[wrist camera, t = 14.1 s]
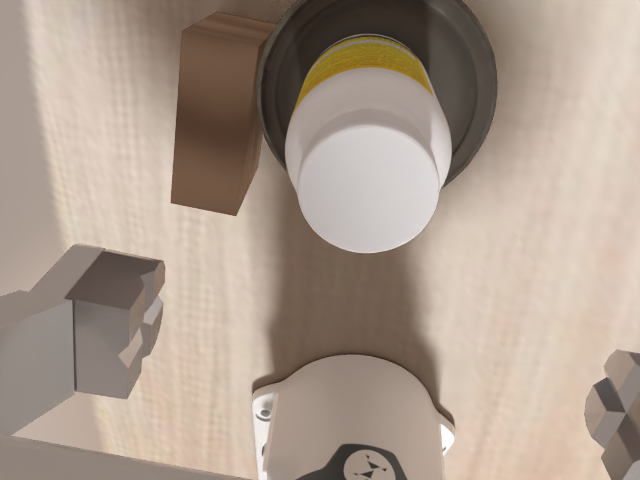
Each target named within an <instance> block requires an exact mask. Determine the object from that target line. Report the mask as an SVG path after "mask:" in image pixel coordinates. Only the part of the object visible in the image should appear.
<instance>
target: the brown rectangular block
mask: <svg viewBox="0 0 640 480" xmlns="http://www.w3.org/2000/svg"><path fill="white" fill-rule="evenodd" d="M276 25H277V24H272V23H267V22H263V21H258V20H253V19H249V18H244V17H239V16H234V15H230V14H225V13H220V12H216V13H214V14H212V15H210V16H209V17H207V18H205V19H203V20H201V21H200V22H198V23H196V24H194V25H192V26H190V27H189V28H187V29H185V30H183V31H182V41H181V56H180V71H179V86H178V101H177V116H176V131H175V145H174V160H173V175H172V190H171V203H173V204H178V205H183V206H188V207H193V208H198V209H203V210H208V211H213V212H218V213H223V214H228V215H233V216H236V215H237V213H238V211H239V209H240V206H241V204H242V202H243V200H244V197H245V195H246V193H247V191H248V188H249V186H250V184H251V182H252V179H253V177H254V175H255V173H256V170H257V168H258V162H259V155H260V148H261V141H262V135H263V131H262V127H261V124H260V120H259V115H258V109H257V99H256V88H257V75H258V70H259V65H260V61H261V58H262V55H263V52H264V49H265V47H266V44H267V42H268V39H269V38H270V36H271V34H272V32H273V30H274V29H275V27H276Z"/></svg>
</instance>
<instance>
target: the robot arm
mask: <svg viewBox="0 0 640 480" xmlns="http://www.w3.org/2000/svg"><path fill="white" fill-rule="evenodd" d="M164 283H165V264H164V262H163V261H161V260H157V259H152V258H147V257H142V256H138V255H133V254H128V253H124V252H119V251H114V250H110V249H105V248H101V247H95V246H90V245H84V244H75V245H73V246H72V247H71V248H70V249H69V250H68V251H67V252H66V253H65V254H64V255H63V256H62V257H61V258H60V260H59V261H58V262H57V263H56V264H55V265H54V266H53V267H52V268H51V269H50V270H49V271H48V272H47V273H46V274H45V275H44V276H43V277H42V279H41V280H40V281H39V282H38V283H37V284H36V285H35V286H34V287H33V288H32V289H31V290H30V291H29V292H26V291H21V290H19V291H16V292H13V293H10V294H7V295H4V296H1V297H0V480H252V479H246V478H241V477H235V476H230V475H224V474H219V473H213V472H207V471H202V470H196V469H191V468H185V467H180V466H174V465H169V464H163V463H158V462H152V461H146V460H141V459H135V458H130V457H124V456H119V455H113V454H108V453H103V452H97V451H91V450H87V449H81V448H76V447H70V446H65V445H59V444H53V443H48V442H43V441H37V440H32V439H26V438H21V437H15V436H11V435H12V434H14V433H15V432H17V431H18V430H20V429H22V428H23V427H24V426H26V425H28V424H29V423H31V422H32V421H34V420H35V419H37V418H38V417H40V416H41V415H43V414H45V413H46V412H48V411H49V410H51V409H52V408H54V407H55V406H57V405H58V404H60V403H62V402H63V401H65V400H66V399H68V398H69V397H71V396H72V395H74V394H75V393H74V392H75V391H76V392H82V393H89V394H95V395H101V396H108V397H114V398H121V399H127V398H128V396H129V394H130V392H131V391H132V389H133V387H134V385H135V383H136V381H137V379H138V377H139V375H140V373H141V365H142V358H144V357H146V356H148V355H150V353H151V351H152V349H153V347H154V345H155V343H156V339H157V336H158V333H159V330H160V326H161V320H162V314H163V302H162V300H161V299H160V297H159V296H158V294H159V292H160V290H161V288H162V286H163V285H164ZM604 370H605V373H606V378H605V379H603V380H601V381H600V382H598V383H596V384H594V385H593V387H592V389H591V391H590V393H589V395H588V397H587V399H586V405H585V413H584V415H585V421H586V426H587V428H588V431H589V433H590V435H591V437H592V438H593V439H594V440H595V441H596V442H597V443H599V444H600V445H601V446H602V447H603V448H604V451H603V454H602V456H601V459H602V461H603V463H604V465H605V468H606V470H607V472H608V474H609V476H610V478H611V480H640V353H635V352H629V351H623V350H616V351H615V352H614V353H613V354H611V355H610V356H609V358H608V360H607V362H606V363H605V365H604ZM265 410H268V411H265ZM252 413H253V425H254V436H255V448H256V459H257V471H258V480H445V472H444V459H443V456H444V455H445V454H446V452H447V451H448V450H449V448H450V447H451V446H452V444H453V443H454V441H455V428H454V426H453V425H452V424H451V423H450V422H449V421H448V420H447V419H446V418H445V417H444V416H442V415H441V414H440V413H439V412H437V410H436V409H435V407H434V405H433V403H432V400H431V398H430V396H429V394H428V392H427V390H426V389H425V387H424V386H423V385H422V383H421V382H420V381H419V380H418V379H417V378H416V377H415V376H414V375H412V374H411V373H410V372H408V371H407V370H405V369H404V368H402V367H400V366H398V365H396V364H394V363H392V362H389V361H387V360H384V359H380V358H376V357H372V356H365V355H338V356H331V357H327V358H323V359H320V360H317V361H314V362H312V363H310V364H307V365H306V366H304V367H302V368H301V369H299V370H298V371H296V372H295V373H294V374H292V375H291V376H290V377H288V378H287V379H285V380H283V381H282V382H278V383H274V384H271V385H267V386H264V387H261V388H259V389H257V390H256V391H255V392H254V393H253V396H252Z"/></svg>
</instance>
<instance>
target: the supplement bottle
mask: <svg viewBox="0 0 640 480" xmlns="http://www.w3.org/2000/svg"><path fill="white" fill-rule="evenodd" d="M451 155H452V143H451V135H450V131H449V126H448V123H447V120H446V118H445V116H444V113H443V111H442V109H441V106H440V104H439V102H438V99H437V97H436V95H435V92H434V90H433V87H432V85H431V82H430V80H429V77H428V75H427V73H426V70H425V68H424V66H423V65H422V63H421V62H420V60H419V59H418V57H417V56H416V55H415V54H414V53H413V52H412V51H411V50H410V49H409V48H408V47H406V46H405V45H403V44H402V43H400V42H399V41H397V40H395V39H393V38H390V37H387V36H383V35H378V34H358V35H353V36H350V37H347V38H344V39H342V40H340V41H337V42H336V43H334V44H333V45H331V46H330V47H329V48H327V49H326V50H325V51H324V52H323V53H322V54H321V55H320V56H319V57H318V58H317V59H316V60H315V62H314V63H313V65H312V66H311V68H310V69H309V71H308V73H307V75H306V78H305V81H304V83H303V86H302V89H301V92H300V94H299V97H298V100H297V103H296V106H295V109H294V111H293V114H292V117H291V120H290V123H289V126H288V131H287V136H286V143H285V159H286V166H287V170H288V174H289V177H290V180H291V182H292V184H293V186H294V188H295V190H296V192H297V195H298V201H299V205H300V208H301V211H302V213H303V215H304V217H305V219H306V221H307V222H308V224H309V225H310V226H311V228H312V229H313V230H314V231H315V232H316V233H317V234H318V235H319V236H320V237H321V238H323V239H324V240H326V241H327V242H329V243H330V244H332V245H334V246H336V247H339V248H341V249H344V250H347V251H351V252H357V253H377V252H382V251H388V250H391V249H394V248H396V247H398V246H401V245H403V244H405V243H407V242H408V241H410V240H411V239H413V238H414V237H415V236H416V235H418V234H419V233H420V232H421V231H422V230H423V228H424V227H425V226H426V225H427V223H428V222H429V220H430V219H431V217H432V215H433V213H434V211H435V209H436V206H437V203H438V199H439V193H440V189H441V187H442V186H443V184H444V182H445V179H446V177H447V174H448V171H449V167H450V163H451Z"/></svg>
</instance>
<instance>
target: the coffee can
mask: <svg viewBox="0 0 640 480" xmlns="http://www.w3.org/2000/svg"><path fill="white" fill-rule="evenodd" d="M358 34H378V35H383V36H387V37H390V38H393V39H395V40H397V41H399V42H400V43H402V44H403V45H405V46H406V47H408V48H409V49H410V50H411V51H412V52H413V53H414V54H415V55H416V56H417V57H418V59H419V60H420V62H421V63H422V65H423V66H424V68H425V70H426V73H427V75H428V77H429V80H430V82H431V85H432V87H433V90H434V92H435V95H436V97H437V99H438V102H439V104H440V106H441V109H442V111H443V113H444V116H445V118H446V120H447V123H448V126H449V131H450V135H451V143H452V155H451V163H450V167H449V171H448V174H447V177H446V179H445V182H444V184H443V186H442V187H441V189H442V188H443V187H445V186H446V185H447V184H449V183H450V182H451V181H453V179H454V178H455V177H457V176H458V175H459V174H460V173H461V172H462V171H463V170H464V169H465V167H466V166H467V165H468V164H469V163H470V161H471V160H472V159H473V157H474V156H475V155H476V153H477V152H478V150H479V148H480V147H481V145H482V144H483V142H484V140H485V138H486V136H487V134H488V131H489V129H490V126H491V123H492V120H493V116H494V112H495V107H496V98H497V70H496V65H495V58H494V54H493V51H492V48H491V45H490V43H489V40H488V38H487V35H486V33H485V31H484V29H483V27H482V26H481V24H480V22H479V21H478V19H477V18H476V17H475V15H474V14H473V13H472V12H471V10H470V9H469V8H468V7H467V6H466V5H465V3H463V2H462V1H461V0H298V1H297V2H295V3H294V4H293V5H292V6H291V7H290V8H289V9H288V10H287V12H286V13H285V14H284V15H283V17H282V18H281V20H280V21H279V22H278V24H277V25H276V27H275V29H274V30H273V32H272V34H271V36H270V38H269V39H268V42H267V44H266V47H265V49H264V52H263V55H262V58H261V61H260V65H259V70H258V75H257V88H256V99H257V109H258V115H259V120H260V124H261V127H262V131H263V134H264V136H265V139H266V141H267V143H268V145H269V147H270V149H271V151H272V152H273V154H274V156H275V157H276V159H277V160H278V161H279V163H280V164H281V165H282V167H283V168H284V169H285V170H286V171H287V172H288V170H287V166H286V159H285V143H286V136H287V131H288V126H289V123H290V120H291V117H292V114H293V111H294V109H295V106H296V103H297V100H298V97H299V94H300V92H301V89H302V86H303V83H304V81H305V78H306V75H307V73H308V71H309V69H310V68H311V66H312V65H313V63H314V62H315V60H316V59H317V58H318V57H319V56H320V55H321V54H322V53H323V52H324V51H325V50H326V49H327V48H329V47H330V46H331V45H333V44H334V43H336V42H337V41H340V40H342V39H344V38H347V37H350V36H353V35H358Z"/></svg>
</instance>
